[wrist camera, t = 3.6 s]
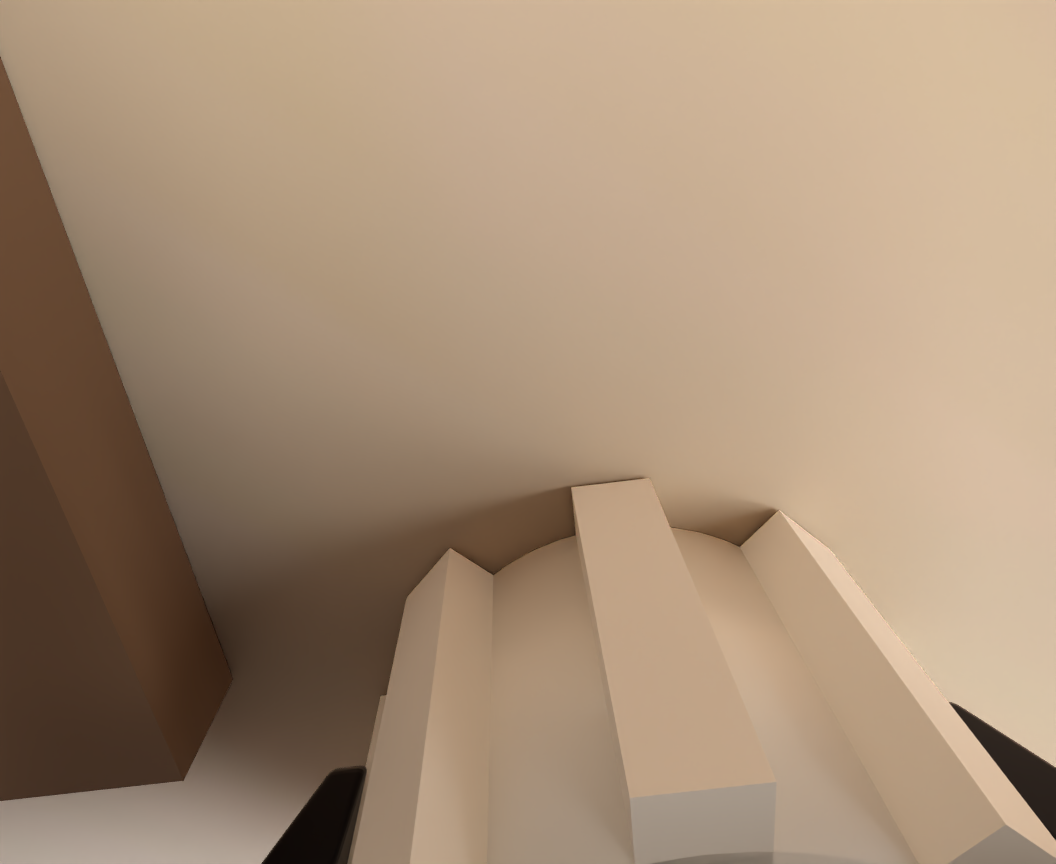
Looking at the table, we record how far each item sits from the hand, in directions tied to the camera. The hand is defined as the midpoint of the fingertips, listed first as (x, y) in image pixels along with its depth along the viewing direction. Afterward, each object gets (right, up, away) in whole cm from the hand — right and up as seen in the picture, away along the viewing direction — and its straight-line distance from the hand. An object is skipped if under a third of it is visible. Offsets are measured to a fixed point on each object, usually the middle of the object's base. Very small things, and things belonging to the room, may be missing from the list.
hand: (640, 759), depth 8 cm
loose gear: (0, 0, +1) cm, 1 cm away
